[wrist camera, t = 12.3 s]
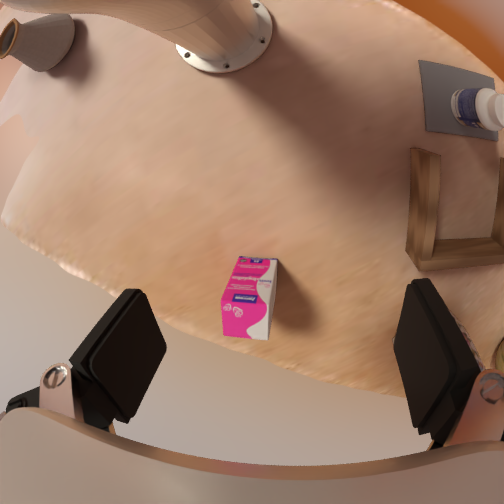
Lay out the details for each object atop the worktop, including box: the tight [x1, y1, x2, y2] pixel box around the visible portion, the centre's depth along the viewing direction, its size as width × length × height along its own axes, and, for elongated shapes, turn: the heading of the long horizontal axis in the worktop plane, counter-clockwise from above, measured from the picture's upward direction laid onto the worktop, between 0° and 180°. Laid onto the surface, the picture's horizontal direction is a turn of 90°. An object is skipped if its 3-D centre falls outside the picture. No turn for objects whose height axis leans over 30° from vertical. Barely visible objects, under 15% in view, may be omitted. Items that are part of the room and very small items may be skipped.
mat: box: [418, 60, 498, 141], centre depth 25 cm, size 10×14×1 cm
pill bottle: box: [451, 88, 504, 131], centre depth 21 cm, size 5×5×10 cm
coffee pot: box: [0, 14, 75, 72], centre depth 20 cm, size 21×12×15 cm, turn 70°
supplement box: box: [221, 256, 278, 340], centre depth 37 cm, size 6×6×12 cm
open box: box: [405, 148, 504, 271], centre depth 29 cm, size 15×19×6 cm
